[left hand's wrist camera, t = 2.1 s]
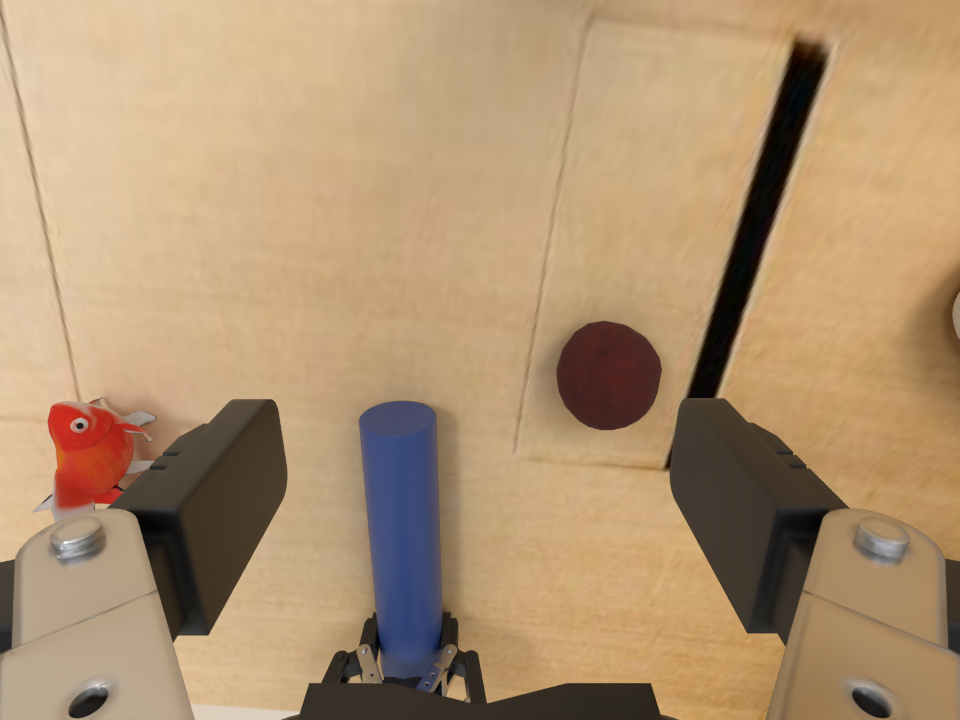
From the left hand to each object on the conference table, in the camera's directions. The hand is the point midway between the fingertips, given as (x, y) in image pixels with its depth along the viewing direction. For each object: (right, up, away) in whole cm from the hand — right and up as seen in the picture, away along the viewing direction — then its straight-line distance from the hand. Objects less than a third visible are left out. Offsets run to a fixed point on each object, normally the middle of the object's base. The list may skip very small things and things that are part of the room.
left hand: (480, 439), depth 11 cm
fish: (-28, -7, +35) cm, 45 cm away
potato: (+9, +2, +32) cm, 33 cm away
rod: (-6, -14, +38) cm, 41 cm away
